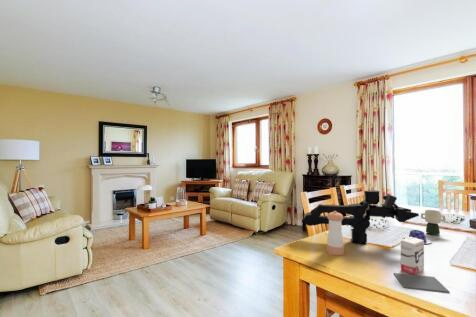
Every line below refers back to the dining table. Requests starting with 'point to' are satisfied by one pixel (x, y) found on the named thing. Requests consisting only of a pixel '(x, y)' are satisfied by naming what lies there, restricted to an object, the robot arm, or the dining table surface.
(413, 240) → the ink box
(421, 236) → the blue low rounded piece
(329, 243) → the pepper shaker
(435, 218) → the character mug
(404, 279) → the mat
